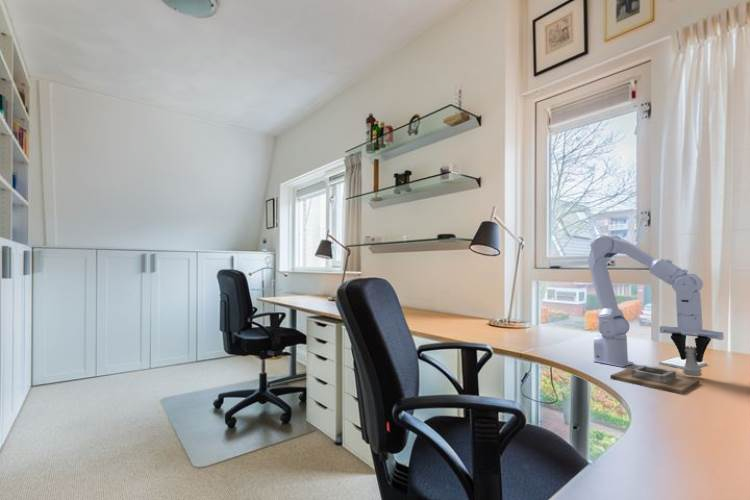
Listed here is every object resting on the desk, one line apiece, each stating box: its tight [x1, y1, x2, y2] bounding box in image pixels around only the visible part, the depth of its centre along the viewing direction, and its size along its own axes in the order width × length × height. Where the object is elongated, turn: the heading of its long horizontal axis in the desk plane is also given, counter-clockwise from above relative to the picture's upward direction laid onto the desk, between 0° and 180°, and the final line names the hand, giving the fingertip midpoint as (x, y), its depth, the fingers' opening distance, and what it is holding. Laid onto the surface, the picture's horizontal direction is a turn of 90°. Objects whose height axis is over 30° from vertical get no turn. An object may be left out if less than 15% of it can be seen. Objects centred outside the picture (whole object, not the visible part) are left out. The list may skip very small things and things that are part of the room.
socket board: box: [609, 365, 701, 395], centre depth 107 cm, size 17×14×3 cm
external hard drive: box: [658, 356, 707, 370], centre depth 123 cm, size 2×8×12 cm
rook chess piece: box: [682, 346, 703, 377], centre depth 110 cm, size 4×4×8 cm
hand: (691, 360), depth 110 cm, fingers closed on rook chess piece, 3 cm apart
